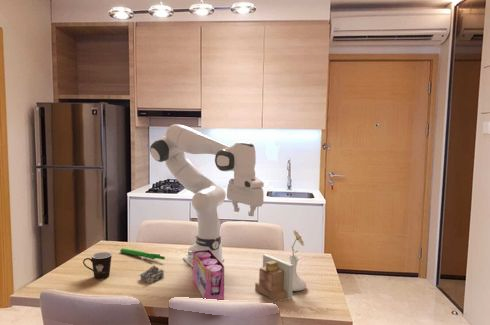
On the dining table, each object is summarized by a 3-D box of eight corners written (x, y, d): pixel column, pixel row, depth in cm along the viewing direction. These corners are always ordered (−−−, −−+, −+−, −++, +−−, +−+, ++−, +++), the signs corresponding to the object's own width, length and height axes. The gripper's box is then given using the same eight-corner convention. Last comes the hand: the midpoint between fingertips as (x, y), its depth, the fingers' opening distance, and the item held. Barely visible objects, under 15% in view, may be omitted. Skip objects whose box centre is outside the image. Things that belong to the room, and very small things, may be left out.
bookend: (253, 288, 160) (254, 257, 159) (265, 284, 164) (266, 253, 163) (280, 302, 148) (281, 268, 147) (292, 297, 152) (293, 264, 151)
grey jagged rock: (155, 273, 175) (155, 264, 175) (166, 276, 171) (166, 268, 171) (137, 280, 166) (137, 271, 166) (149, 284, 162) (149, 275, 162)
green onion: (119, 255, 200) (161, 263, 185) (119, 249, 200) (161, 257, 185) (126, 252, 205) (168, 260, 190) (126, 246, 204) (168, 254, 189)
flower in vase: (305, 295, 155) (308, 236, 153) (278, 292, 157) (280, 234, 155) (306, 282, 168) (308, 228, 166) (281, 280, 170) (283, 226, 168)
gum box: (225, 301, 148) (226, 268, 147) (206, 304, 145) (206, 270, 144) (209, 278, 170) (209, 249, 169) (192, 280, 167) (192, 251, 166)
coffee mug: (115, 274, 171) (115, 253, 171) (103, 281, 163) (102, 259, 162) (95, 270, 175) (95, 250, 174) (81, 277, 167) (81, 256, 166)
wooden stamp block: (258, 286, 155) (259, 261, 154) (269, 283, 159) (270, 258, 158) (271, 293, 149) (272, 267, 148) (282, 289, 153) (283, 263, 152)
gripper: (223, 178, 160) (222, 210, 161) (254, 184, 144) (253, 219, 146) (235, 177, 164) (234, 208, 165) (266, 183, 148) (265, 217, 150)
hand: (243, 213), depth 155 cm, fingers open, 8 cm apart
